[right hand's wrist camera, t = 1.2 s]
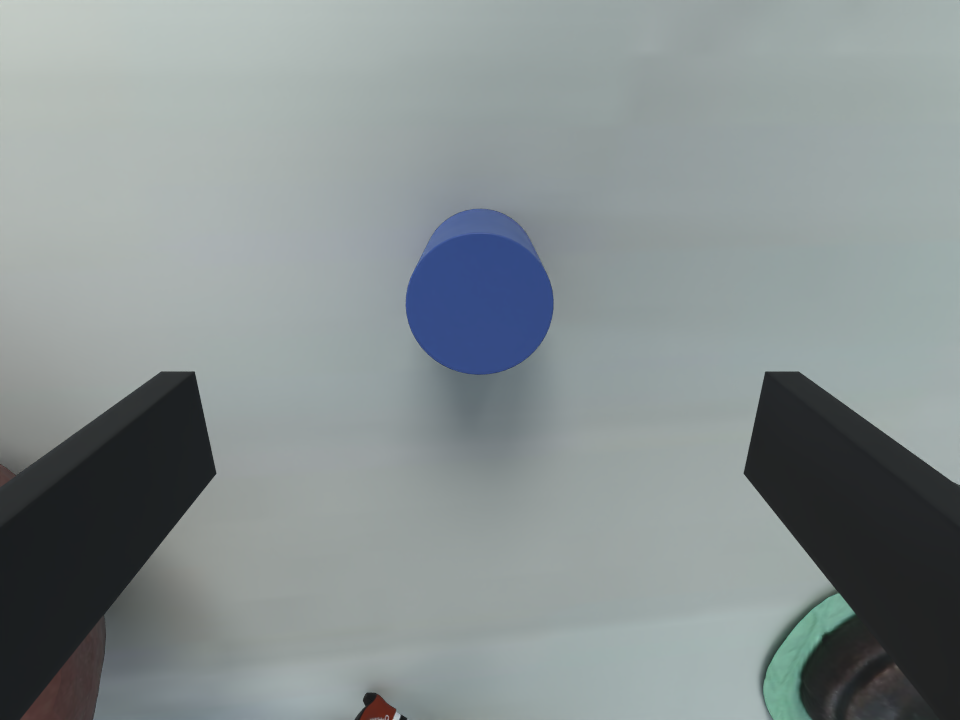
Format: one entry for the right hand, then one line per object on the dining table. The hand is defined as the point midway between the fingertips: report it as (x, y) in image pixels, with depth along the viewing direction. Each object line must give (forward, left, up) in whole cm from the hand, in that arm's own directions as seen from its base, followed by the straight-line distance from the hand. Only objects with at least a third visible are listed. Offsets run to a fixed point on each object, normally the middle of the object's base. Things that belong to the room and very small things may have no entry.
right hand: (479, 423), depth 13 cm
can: (0, 0, -17) cm, 17 cm away
